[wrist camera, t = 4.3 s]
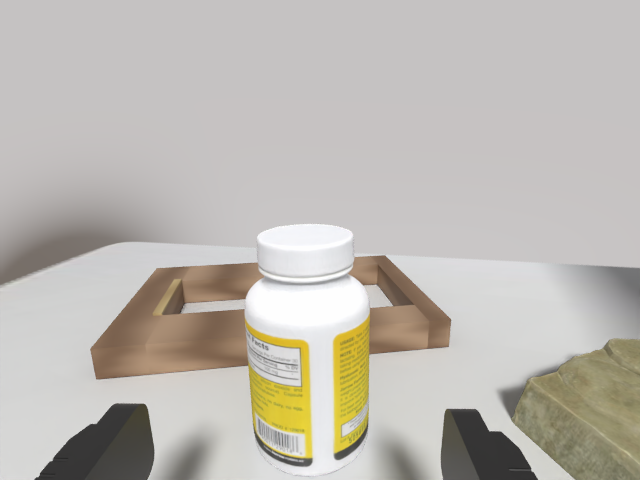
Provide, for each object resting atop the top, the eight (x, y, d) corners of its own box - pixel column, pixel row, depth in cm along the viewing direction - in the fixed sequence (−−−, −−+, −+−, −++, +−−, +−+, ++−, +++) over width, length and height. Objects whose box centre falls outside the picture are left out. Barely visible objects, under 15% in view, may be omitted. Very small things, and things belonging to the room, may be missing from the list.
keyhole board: (384, 274, 38) (384, 253, 38) (448, 346, 25) (451, 316, 24) (159, 288, 35) (156, 266, 35) (96, 379, 22) (89, 346, 21)
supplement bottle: (351, 389, 21) (354, 217, 18) (383, 471, 16) (393, 248, 13) (253, 401, 20) (241, 222, 17) (253, 492, 15) (235, 257, 12)
